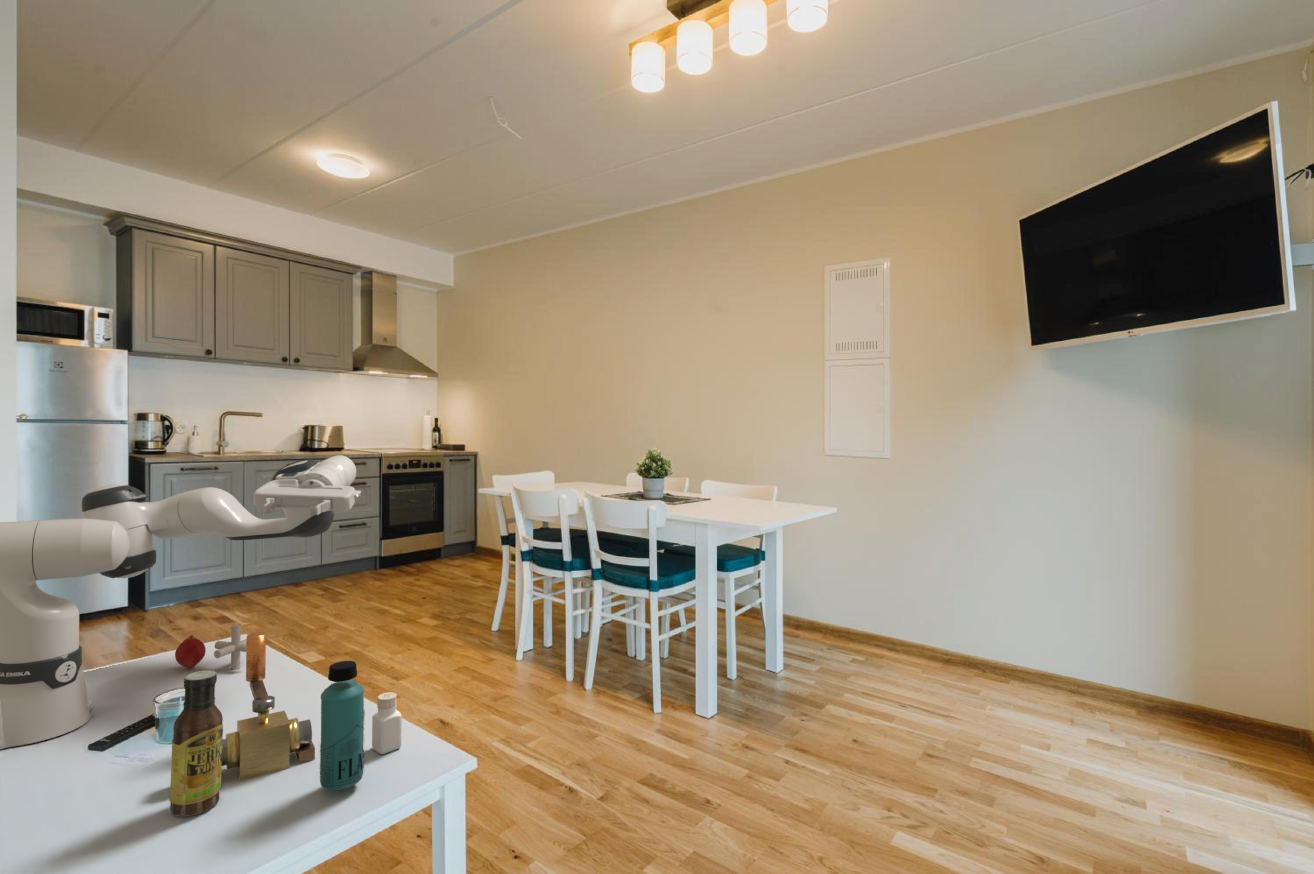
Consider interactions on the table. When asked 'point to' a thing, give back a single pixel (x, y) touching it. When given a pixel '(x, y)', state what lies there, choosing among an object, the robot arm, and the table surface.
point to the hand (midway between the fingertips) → (290, 510)
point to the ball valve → (267, 744)
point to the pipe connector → (232, 647)
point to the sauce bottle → (197, 748)
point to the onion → (190, 652)
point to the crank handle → (257, 672)
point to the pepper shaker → (386, 724)
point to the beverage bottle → (342, 728)
